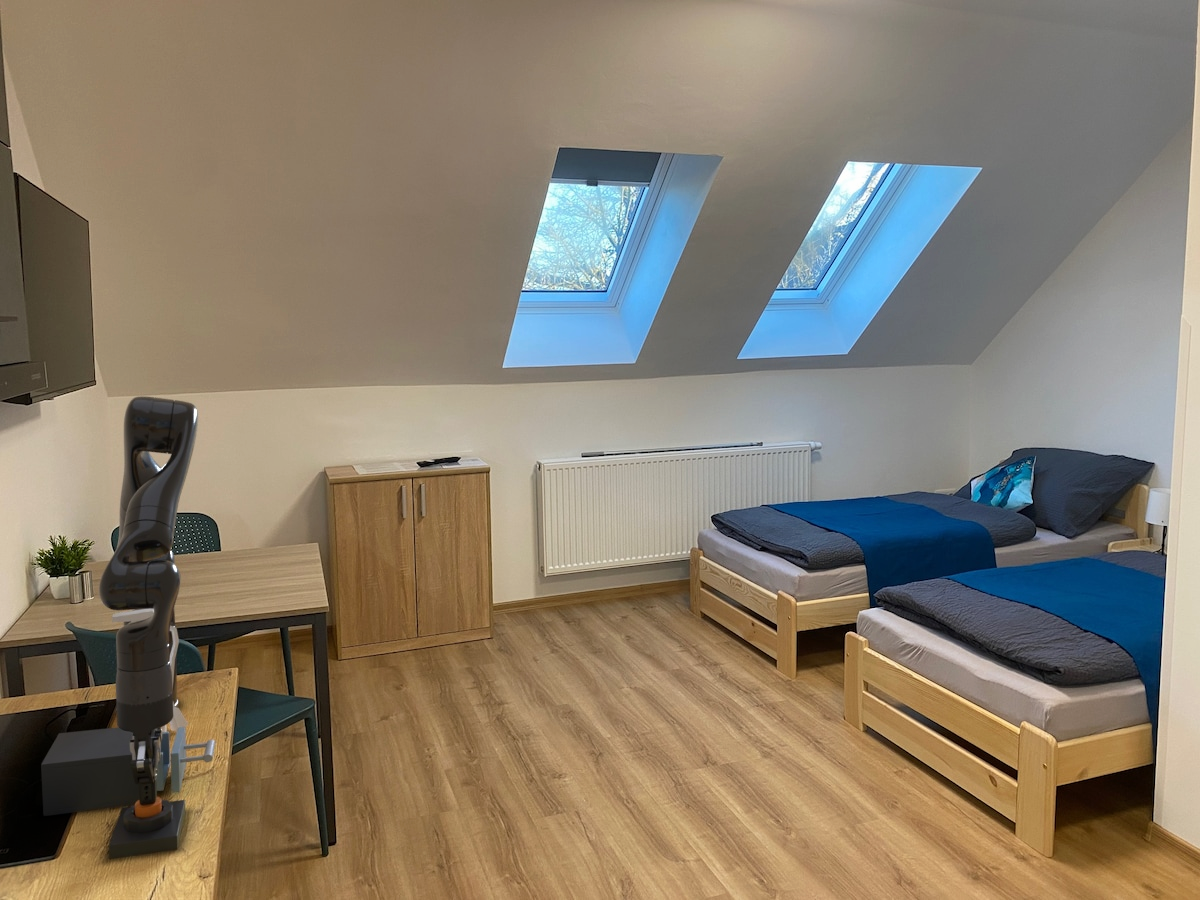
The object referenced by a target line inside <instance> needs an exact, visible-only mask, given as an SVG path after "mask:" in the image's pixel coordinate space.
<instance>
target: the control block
mask: <svg viewBox="0 0 1200 900" xmlns="http://www.w3.org/2000/svg"><path fill="white" fill-rule="evenodd" d="M161 804H162V811H161V812H160V813H159V814H156V815H154V816H151V817H144V818H141V817H136V816H135V804H134V805H130V806H123V807H121V810H120V813H119V815H118V818H117V821H116V824H115V827H114V830H113V832H112V835H111V838H110V841H109V843H108V859H109V860H114V859H121V858H128V857H137V856H141V855H142V856H143V855H149V854H156V853H163V852H170V851H177V850H178V849H179V844H180V841H181V840H180V839H181V836H182V835H181V834H182V831H183V825H184V821H185V816H186V799H180V800H172V801H171V800H170V801H169V800H168V799H161Z"/></svg>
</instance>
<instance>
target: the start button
mask: <svg viewBox="0 0 1200 900" xmlns="http://www.w3.org/2000/svg"><path fill="white" fill-rule="evenodd" d="M161 800H162V798H161V797H160V796H157V798H156V801H155V803H154V804H148V805H140V803H139V800H138V801H137V802H136V803H135V816H136V817H141V818H144V817H151V816H154V815H156V814H159V813H160V812H161V811H162V804H161Z"/></svg>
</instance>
